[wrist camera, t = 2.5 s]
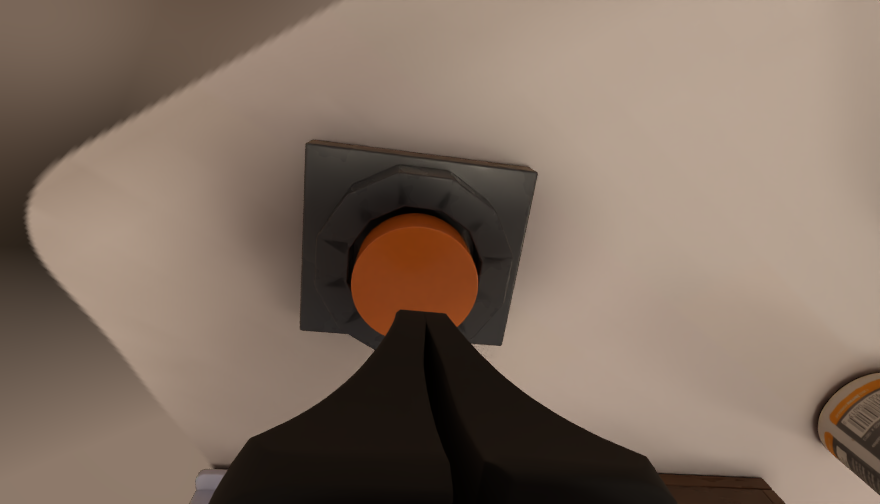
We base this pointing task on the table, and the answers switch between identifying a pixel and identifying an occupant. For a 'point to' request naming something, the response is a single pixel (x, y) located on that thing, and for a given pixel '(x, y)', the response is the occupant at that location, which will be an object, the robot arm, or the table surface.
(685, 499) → the cabinet
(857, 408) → the pill bottle
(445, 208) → the block
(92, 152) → the table surface
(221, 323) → the table surface
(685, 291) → the table surface
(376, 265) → the release button
